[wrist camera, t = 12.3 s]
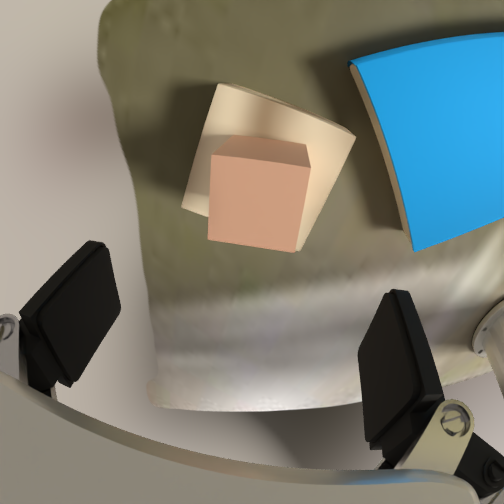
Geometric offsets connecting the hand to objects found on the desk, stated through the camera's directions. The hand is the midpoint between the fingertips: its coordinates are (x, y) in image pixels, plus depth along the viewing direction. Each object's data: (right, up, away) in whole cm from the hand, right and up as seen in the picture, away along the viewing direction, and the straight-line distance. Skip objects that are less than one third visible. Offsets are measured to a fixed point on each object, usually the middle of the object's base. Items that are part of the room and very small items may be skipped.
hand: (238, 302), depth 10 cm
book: (+23, +14, +10) cm, 29 cm away
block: (+1, +7, +11) cm, 13 cm away
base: (+2, +10, +15) cm, 18 cm away
